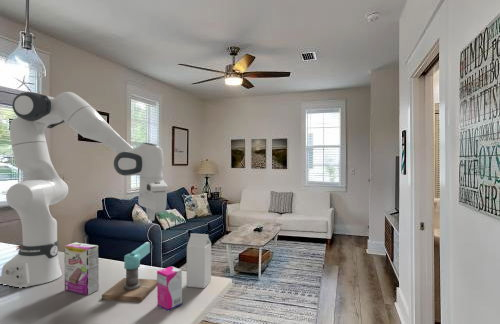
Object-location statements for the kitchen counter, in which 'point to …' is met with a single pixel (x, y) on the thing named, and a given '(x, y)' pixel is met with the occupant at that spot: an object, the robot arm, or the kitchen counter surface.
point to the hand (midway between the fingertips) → (150, 220)
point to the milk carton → (198, 261)
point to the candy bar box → (81, 268)
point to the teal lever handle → (136, 256)
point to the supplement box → (169, 288)
